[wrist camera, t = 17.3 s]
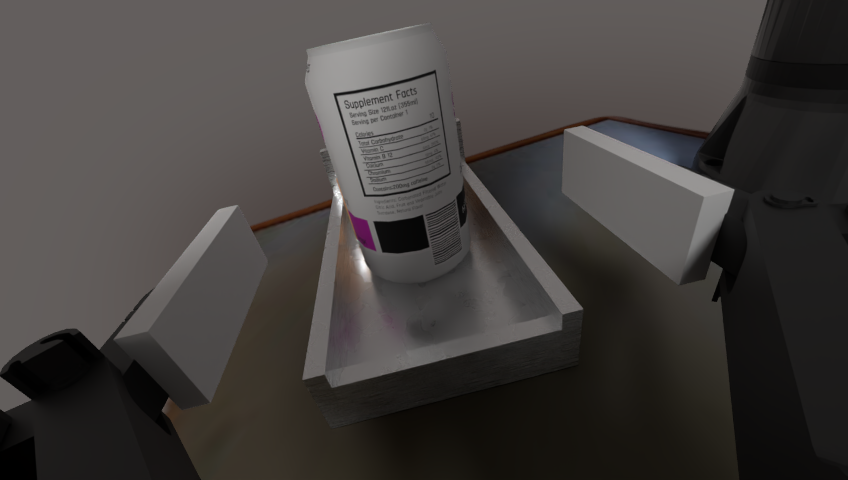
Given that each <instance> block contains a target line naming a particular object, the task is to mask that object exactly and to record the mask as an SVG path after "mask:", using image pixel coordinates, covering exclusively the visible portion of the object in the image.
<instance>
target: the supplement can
mask: <svg viewBox="0 0 848 480" xmlns="http://www.w3.org/2000/svg"><path fill="white" fill-rule="evenodd" d="M306 51H307V54H308V63H307V70H306V78H305V85H306V88H307V91H308V94H309V97H310V100H311V103H312V106H313V109H314V112H315V115H316V118H317V120H318V123H319V126H320V129H321V132H322V135H323V138H324V141H325V144H326V147H327V150H328V153H329V156H330V159H331V162H332V165H333V168H334V171H335V174H336V177H337V180H338V183H339V186H340V189H341V192H342V195H343V198H344V201H345V203H346V206H347V209H348V212H349V215H350V218H351V221H352V224H353V227H354V230H355V233H356V236H357V239H358V242H359V245H360V248H361V251H362V254H363V257H364V260H365V263H366V265H367V267H368V268H369V269H370V270H371V272H372V273H373V274H374V275H377V276H379V277H381V278H384V279H386V280H390V281H392V282H394V283H404V284H415V283H422V282H428V281H430V280H433V279H436V278H438V277H441V276H444V275H445V274H446V273H448V272H449V271H451V270H452V269H454V268H455V267H456V266H457V264H458V263H460V262H461V261H462V260H463V258H464V257H465V256H466V254H467V253H468V251H469V250H470V241H471V237H470V229H469V221H468V213H467V206H466V198H465V190H464V182H463V174H462V166H461V159H460V151H459V143H458V135H457V127H456V119H455V112H454V105H453V97H452V88H451V80H450V72H449V66H448V57H447V51H446V50H445V48H444V47H443V45H442V43H441V42H440V40H439V39H438V37H437V36H436V34H435V33H434V31H433V30H432V23H427V24H422V25H416V26H411V27H406V28H402V29H397V30H392V31H387V32H383V33H378V34H374V35H368V36H364V37H359V38H355V39H350V40H345V41H341V42H337V43H332V44H327V45H323V46H319V47H315V48H310V49H307V50H306Z"/></svg>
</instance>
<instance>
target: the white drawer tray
mask: <svg viewBox="0 0 848 480" xmlns="http://www.w3.org/2000/svg"><path fill="white" fill-rule="evenodd" d="M456 127H457V135H458V143H459V151H460V159H461V166H462V174H463V182H464V190H465V198H466V206H467V213H468V221H469V229H470V237H471V241H470V250H469V251H468V253H467V254H466V256H465V257H464V258H463V260H462V261H461V262H460V263H458V264H457V266H456V267H455V268H454V269H452V270H451V271H449V272H448V273H446V274H445V275H444V276H441V277H438V278H436V279H433V280H430V281H428V282H422V283H415V284H404V283H394V282H392V281H390V280H386V279H384V278H381V277H379V276H377V275H374V274H373V273H372V272H371V270H370V269H369V268H368V267H367V265H366V263H365V260H364V257H363V254H362V251H361V248H360V245H359V242H358V239H356V236H355V233H354V230H353V228H352V225H351V222H350V219H349V216H348V213H347V210H346V207H345V204H344V201H343V198H342V195H341V192H340V189H339V186H338V183H337V180H336V178H337V177H336V174H335V171H334V168H333V165H332V162H331V159H330V156H329V153H328V150H327V148H324V149H321V150H320V155H321V158H322V160H323V163H324V166H325V169H326V172H327V175H328V178H329V180H330V183H331V186H332V189H333V192H334V195H333V201H332V207H331V213H330V219H329V225H328V231H327V236H326V242H325V248H324V254H323V260H322V266H321V272H320V278H319V284H318V290H317V296H316V302H315V308H314V314H313V320H312V326H311V332H310V338H309V344H308V349H307V355H306V361H305V367H304V373H303V379H302V380H303V382H304V384H305V385H306V387H307V389H308V390H309V392H310V394H311V395H312V397H313V399H314V400H315V402H316V404H317V405H318V407H319V409H320V410H321V412H322V414H323V415H324V417H325V419H326V420H327V422H328V424H329V425H330V427H331V429H332V428H336V427H340V426H344V425H348V424H352V423H355V422H359V421H363V420H367V419H371V418H375V417H379V416H382V415H386V414H390V413H394V412H398V411H402V410H406V409H410V408H413V407H417V406H421V405H425V404H429V403H433V402H437V401H440V400H444V399H448V398H452V397H456V396H460V395H464V394H468V393H471V392H475V391H479V390H483V389H487V388H491V387H495V386H498V385H502V384H506V383H510V382H514V381H518V380H522V379H526V378H529V377H533V376H537V375H541V374H545V373H549V372H553V371H556V370H560V369H564V368H568V367H572V366H576V365H578V361H579V351H580V340H581V329H582V319H583V308H582V307H581V305H580V304H579V303H578V302H577V301H576V299H575V298H574V297H573V296H572V294H571V293H570V292H569V291H568V289H567V288H566V287H565V286H564V284H563V283H562V282H561V281H560V279H559V278H558V277H557V276H556V274H555V273H554V272H553V271H552V269H551V268H550V267H549V266H548V264H547V263H546V262H545V261H544V260H543V258H542V257H541V256H540V255H539V253H538V252H537V251H536V250H535V248H534V247H533V246H532V245H531V243H530V242H529V241H528V240H527V238H526V237H525V236H524V235H523V233H522V232H521V231H520V230H519V228H518V227H517V226H516V225H515V224H514V222H513V221H512V220H511V219H510V217H509V216H508V215H507V214H506V212H505V211H504V210H503V209H502V207H501V206H500V205H499V204H498V202H497V201H496V200H495V199H494V197H493V196H492V195H491V194H490V192H489V191H488V190H487V189H486V188H485V186H484V185H483V184H482V183H481V181H480V180H479V179H478V178H477V176H476V175H475V174H474V173H473V171H472V170H471V169H470V168H469V166H468V165H467V164H466V163H465V157H464V148H463V140H462V132H461V123H460V120H459V119H458V118H457V119H456Z"/></svg>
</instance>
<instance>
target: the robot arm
mask: <svg viewBox="0 0 848 480" xmlns="http://www.w3.org/2000/svg"><path fill="white" fill-rule="evenodd" d="M562 193H564V194H565V195H566V196H567V197H569V198H570V199H571V200H572V201H574V202H575V203H576V204H577V205H579V206H580V207H581V208H582V209H584V210H585V211H586V212H587V213H589V214H590V215H591V216H592V217H594V218H595V219H596V220H597V221H599V222H600V223H601V224H602V225H604V226H605V227H606V228H607V229H609V230H610V231H611V232H613V233H614V234H615V235H616V236H618V237H619V238H620V239H621V240H623V241H624V242H625V243H626V244H628V245H629V246H630V247H631V248H633V249H634V250H635V251H636V252H638V253H639V254H640V255H641V256H643V257H644V258H645V259H646V260H648V261H649V262H650V263H651V264H653V265H654V266H655V267H656V268H658V269H659V270H660V271H661V272H663V273H664V274H665V275H667V276H668V277H669V278H670V279H672V280H673V281H674V282H675V283H677V284H678V285H683V284H687V283H691V282H695V281H699V280H703V279H705V277H706V274H707V271H708V268H709V265H710V262H711V261H712V262H714V263H715V264H717V265H719V266H720V267H722V268H723V270H722V273H721V276H720V279H719V282H718V284H717V287H716V290H715V293H714V295H713V298H712V301H714V302H717V300H718V298H719V297H720V296H721V304H722V313H723V323H724V333H725V343H726V353H727V362H728V372H729V382H730V392H731V402H732V412H733V421H734V431H735V441H736V451H737V461H738V471H739V480H848V0H767V4H766V7H765V10H764V14H763V17H762V20H761V23H760V26H759V30H758V33H757V36H756V40H755V43H754V46H753V49H752V53H751V57H750V61H749V64H748V67H747V70H746V74H745V77H744V81H743V83H742V85H741V87H740V89H739V91H738V93H737V94H736V96H735V97H734V98H733V100H732V102H731V103H730V104H729V106H728V107H727V109H726V110H725V112H724V113H723V115H722V116H721V118H720V119H719V121H718V122H717V124H716V125H715V127H714V128H713V130H712V131H711V132H710V134H709V135H708V137H707V138H706V140H705V141H704V143H703V144H702V146H701V147H700V149H699V150H698V152H697V154H696V156H695V158H694V162H693V166H692V169H690V168H687V167H684V166H679V165H675V164H673V163H670V162H668V161H665V160H663V159H661V158H658V157H656V156H653V155H651V154H649V153H646V152H644V151H642V150H639V149H637V148H634V147H632V146H630V145H627V144H625V143H623V142H620V141H618V140H615V139H613V138H611V137H608V136H606V135H604V134H601V133H599V132H596V131H594V130H592V129H589V128H587V127H585V126H579V127H574V128H570V129H566V130H564V149H563V175H562ZM267 263H268V261H267V259H266V257H265V255H264V253H263V251H262V249H261V247H260V245H259V243H258V241H257V240H256V238H255V236H254V234H253V232H252V230H251V228H250V226H249V224H248V223H247V221H246V219H245V217H244V215H243V213H242V211H241V209H240V208H239V205H236V206H231V207H227V208H223V209H219V210H218V211H217V212H216V213H215V214H214V216H213V217H212V218H211V219H210V221H209V222H208V223H207V224H206V225H205V227H204V228H203V229H202V230H201V232H200V233H199V234H198V235H197V237H196V238H195V239H194V240H193V242H192V243H191V244H190V245H189V247H188V248H187V249H186V250H185V251H184V253H183V254H182V255H181V256H180V258H179V259H178V260H177V261H176V263H175V264H174V265H173V266H172V268H171V269H170V270H169V271H168V272H167V274H166V275H165V276H164V277H163V279H162V280H161V281H160V282H159V284H158V285H157V286H156V287H155V288H154V289H152V290H151V291H150V292H149V293H148V294H146V295H145V296H144V297H143V298H142V299H141V300H140V301H139V303H138V304H137V305H136V306H135V308H134V309H133V310H134V311H132V312H130V314H129V315H128V316H127V317H126V319H125V322H122V324H121V325H120V326H119V327H118V328H117V330H116V331H115V332H114V333H113V334H112V335H111V337H110V338H109V339H108V340H107V341H106V343H105V344H104V345H103V346H102V348H101V349H100V350H98V349H97V348H96V347H95V346H94V345H93V344H92V343H91V342H90V341H89V340H88V339H87V338H86V337H85V336H84V335H83V334H82V333H81V332H80V331H78V330H77V329H65V330H62V331H59V332H55V333H53V334H50V335H48V336H46V337H44V338H42V339H40V340H38V341H37V342H35V343H33V344H31V345H29V346H28V347H26V348H25V349H23V350H22V351H21V352H19V353H18V354H17V355H15V356H14V357H13V358H12V359H11V360H10V361H9V362H8V363H7V364H6V365H5V366H4V367H3V368H2V371H1V372H0V377H2V378H3V379H4V380H6V381H7V382H9V383H10V384H11V385H13V386H14V387H15V388H17V389H18V390H19V391H21V392H22V393H23V394H25V395H26V396H27V397H29V398H30V399H31V401H29V402H26V403H24V404H22V405H19V406H17V407H15V408H13V409H10V410H8V411H6V412H3V411H2V410H0V480H201V479H200V477H199V475H198V473H197V471H196V469H195V468H194V466H193V464H192V462H191V460H190V458H189V456H188V454H187V452H186V450H185V448H184V446H183V444H182V442H181V440H180V438H179V436H178V434H177V432H176V430H175V428H174V426H173V424H172V422H171V420H170V419H169V418H168V417H167V416H166V415H165V414H164V413H163V412H162V409H163V407H164V405H165V403H166V401H167V399H168V397H169V398H170V399H171V400H172V401H173V402H174V403H175V404H176V405H177V406H178V407H179V408H180V409H181V410H185V409H189V408H193V407H197V406H200V405H204V404H208V403H211V401H212V398H213V396H214V394H215V391H216V389H217V386H218V384H219V381H220V379H221V376H222V374H223V371H224V369H225V367H226V364H227V362H228V359H229V357H230V354H231V352H232V349H233V347H234V344H235V342H236V339H237V337H238V335H239V332H240V330H241V327H242V325H243V322H244V320H245V317H246V315H247V312H248V310H249V308H250V305H251V303H252V300H253V298H254V295H255V293H256V290H257V288H258V285H259V283H260V281H261V278H262V276H263V273H264V271H265V268H266V266H267Z"/></svg>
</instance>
